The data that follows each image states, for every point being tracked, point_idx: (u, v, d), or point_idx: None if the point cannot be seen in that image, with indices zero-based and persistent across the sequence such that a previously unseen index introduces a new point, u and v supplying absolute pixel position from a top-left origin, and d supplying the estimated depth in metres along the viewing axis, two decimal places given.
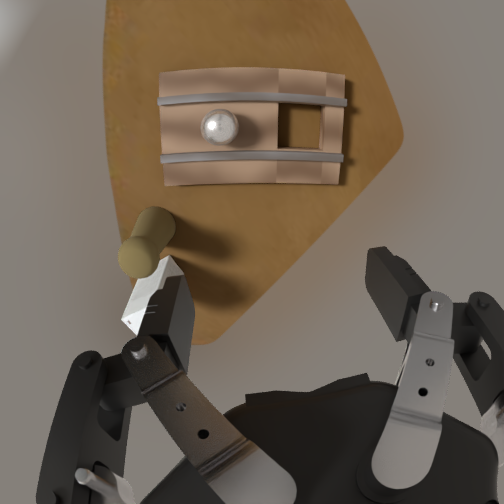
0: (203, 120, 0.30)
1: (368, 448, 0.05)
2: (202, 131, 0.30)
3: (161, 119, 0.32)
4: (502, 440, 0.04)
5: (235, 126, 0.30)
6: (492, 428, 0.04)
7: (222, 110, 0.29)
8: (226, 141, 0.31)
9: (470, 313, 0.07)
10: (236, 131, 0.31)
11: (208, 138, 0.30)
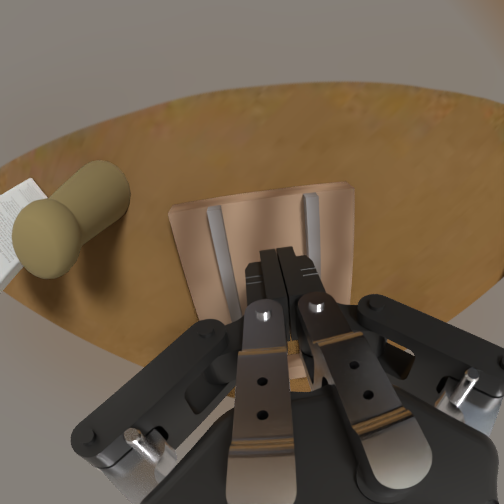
0: None
1: (353, 469, 0.04)
2: None
3: (279, 198, 0.22)
4: (476, 418, 0.05)
5: None
6: (457, 414, 0.05)
7: None
8: None
9: (367, 324, 0.08)
10: None
11: None
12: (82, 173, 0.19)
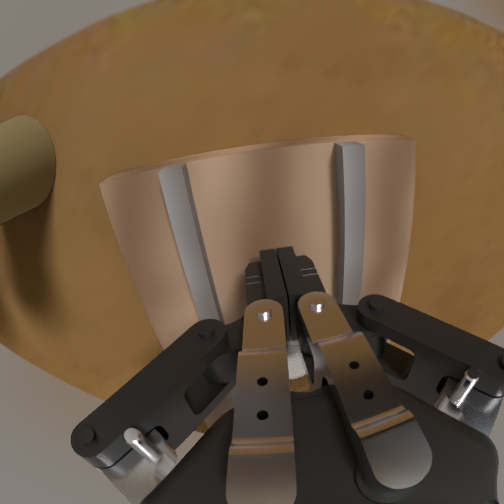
0: None
1: (353, 469, 0.04)
2: None
3: (292, 150, 0.12)
4: (476, 418, 0.05)
5: None
6: (457, 414, 0.05)
7: None
8: None
9: (367, 324, 0.08)
10: None
11: None
12: None
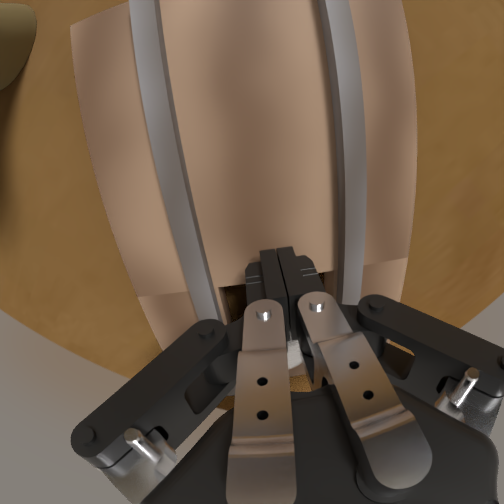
0: None
1: (353, 469, 0.04)
2: None
3: None
4: (476, 418, 0.05)
5: None
6: (457, 414, 0.05)
7: None
8: None
9: (367, 324, 0.08)
10: None
11: None
12: None
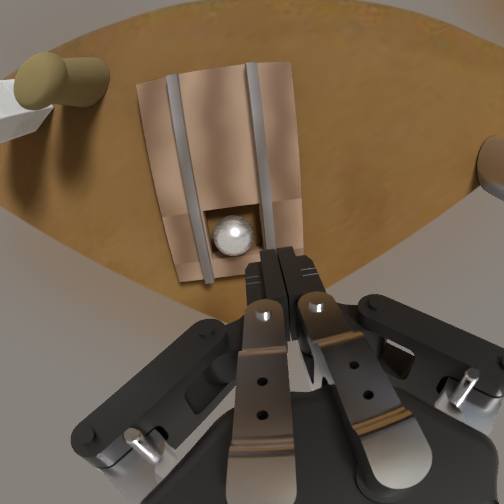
0: None
1: (353, 469, 0.04)
2: None
3: (225, 68, 0.23)
4: (475, 418, 0.05)
5: (232, 222, 0.30)
6: (457, 415, 0.05)
7: None
8: (216, 226, 0.31)
9: (367, 324, 0.08)
10: (227, 226, 0.30)
11: None
12: None
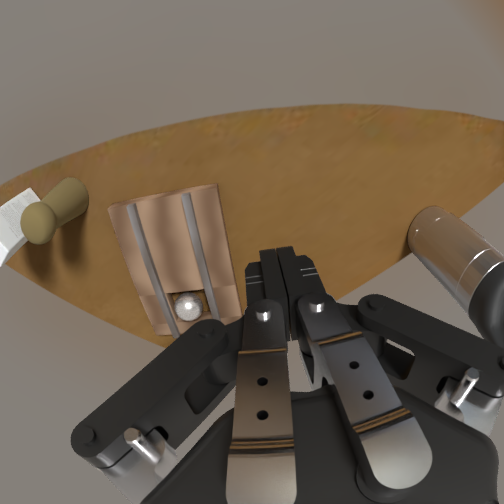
0: None
1: (353, 469, 0.04)
2: None
3: (168, 197, 0.35)
4: (476, 418, 0.05)
5: (185, 297, 0.42)
6: (457, 414, 0.05)
7: (200, 299, 0.43)
8: (176, 299, 0.42)
9: (367, 324, 0.08)
10: (181, 300, 0.41)
11: None
12: (59, 186, 0.32)
